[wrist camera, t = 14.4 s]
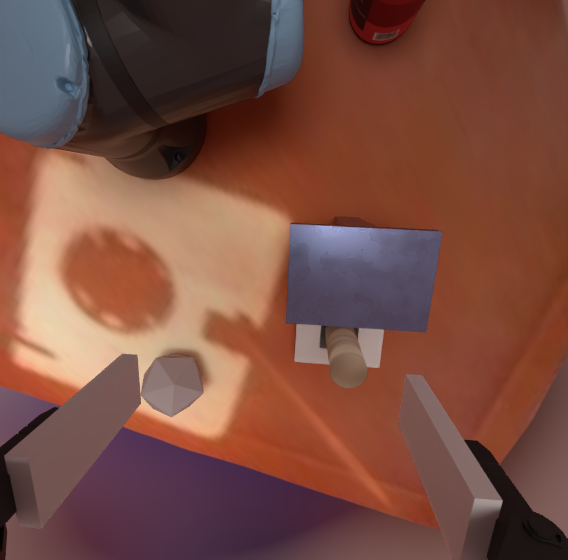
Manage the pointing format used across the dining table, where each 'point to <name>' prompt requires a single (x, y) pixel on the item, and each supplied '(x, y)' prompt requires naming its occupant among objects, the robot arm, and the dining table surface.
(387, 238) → the slate blue panel
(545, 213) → the dining table surface
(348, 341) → the peg
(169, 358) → the die
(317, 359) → the socket block
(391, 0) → the canned food
